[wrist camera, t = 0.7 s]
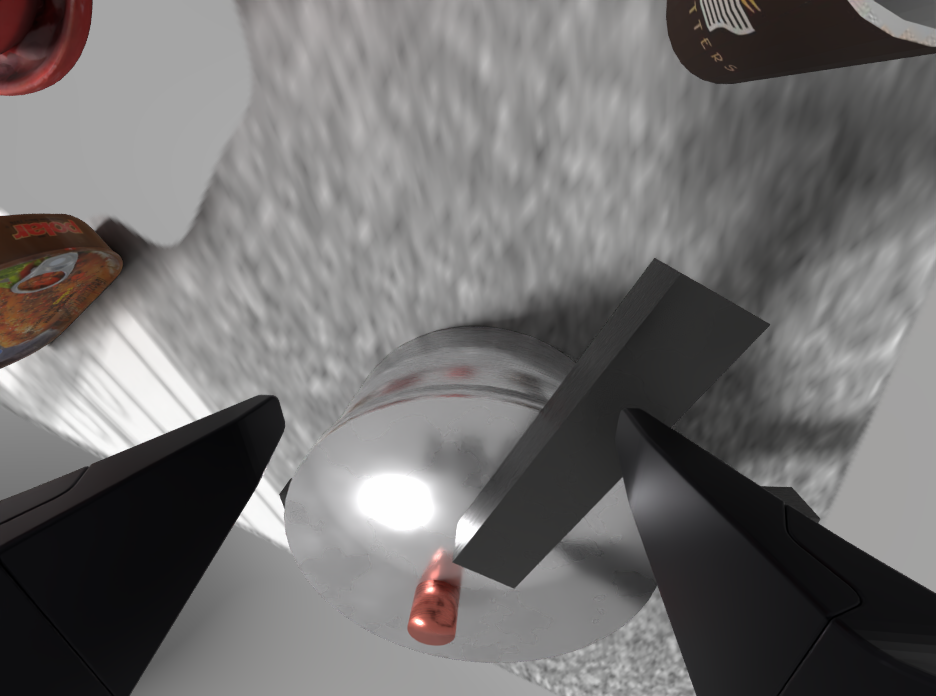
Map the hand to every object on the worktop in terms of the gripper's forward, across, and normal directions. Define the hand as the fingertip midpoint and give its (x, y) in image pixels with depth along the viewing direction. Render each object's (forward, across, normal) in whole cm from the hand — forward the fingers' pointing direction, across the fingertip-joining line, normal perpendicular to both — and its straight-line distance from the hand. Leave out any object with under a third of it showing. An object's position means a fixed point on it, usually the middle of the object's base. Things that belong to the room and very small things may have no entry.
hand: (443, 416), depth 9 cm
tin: (+14, +26, +1) cm, 30 cm away
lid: (+6, -2, +9) cm, 11 cm away
